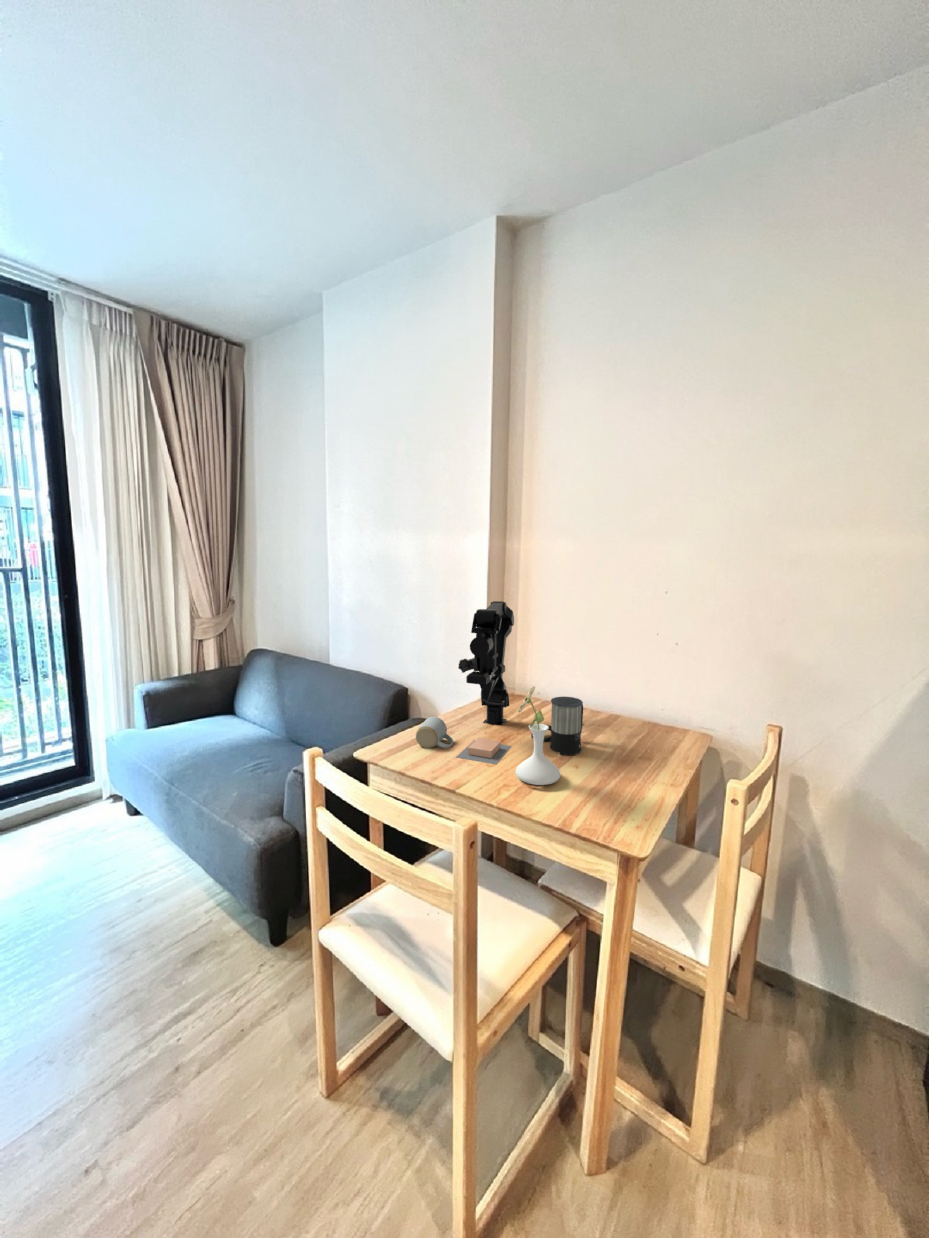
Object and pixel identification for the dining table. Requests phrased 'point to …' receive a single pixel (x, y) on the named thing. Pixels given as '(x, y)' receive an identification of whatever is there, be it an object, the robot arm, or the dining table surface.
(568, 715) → the milk frother
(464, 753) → the mat
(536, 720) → the flower in vase
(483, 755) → the picture frame
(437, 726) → the ceramic mug
